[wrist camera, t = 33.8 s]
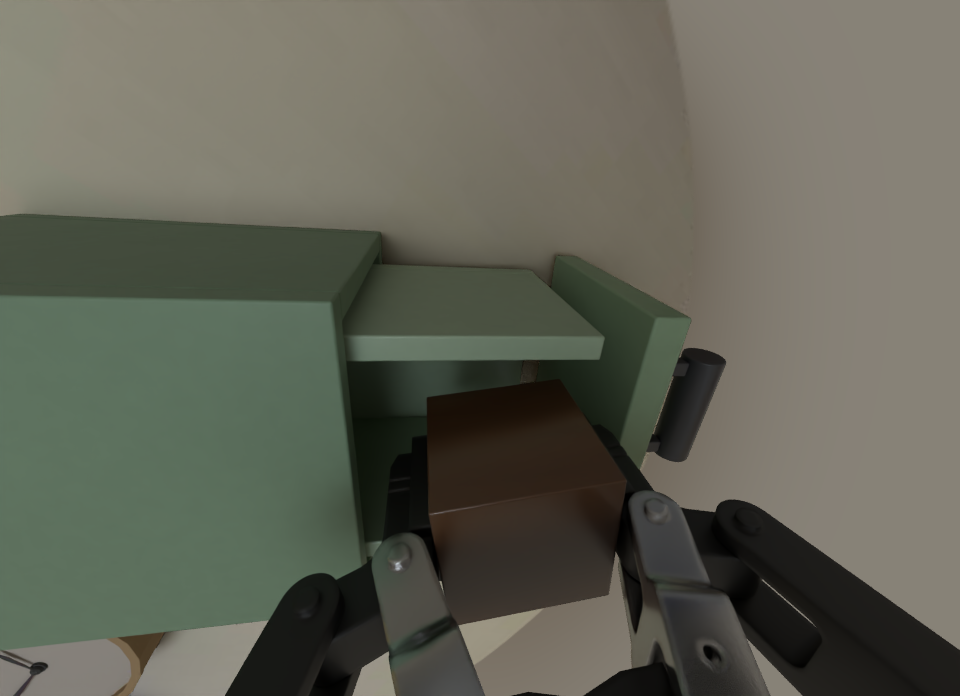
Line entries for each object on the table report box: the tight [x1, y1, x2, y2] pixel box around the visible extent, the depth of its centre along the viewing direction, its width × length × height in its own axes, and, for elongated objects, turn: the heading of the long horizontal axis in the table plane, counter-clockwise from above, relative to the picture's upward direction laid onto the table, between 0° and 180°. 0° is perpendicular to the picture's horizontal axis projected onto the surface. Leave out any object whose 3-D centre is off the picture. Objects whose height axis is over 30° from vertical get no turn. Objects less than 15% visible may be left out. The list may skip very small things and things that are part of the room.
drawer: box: [342, 256, 726, 557], centre depth 16 cm, size 18×10×9 cm, turn 86°
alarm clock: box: [0, 632, 165, 696], centre depth 24 cm, size 11×5×15 cm
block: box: [426, 379, 627, 625], centre depth 11 cm, size 4×4×4 cm
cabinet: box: [0, 214, 382, 651], centre depth 14 cm, size 15×12×11 cm
